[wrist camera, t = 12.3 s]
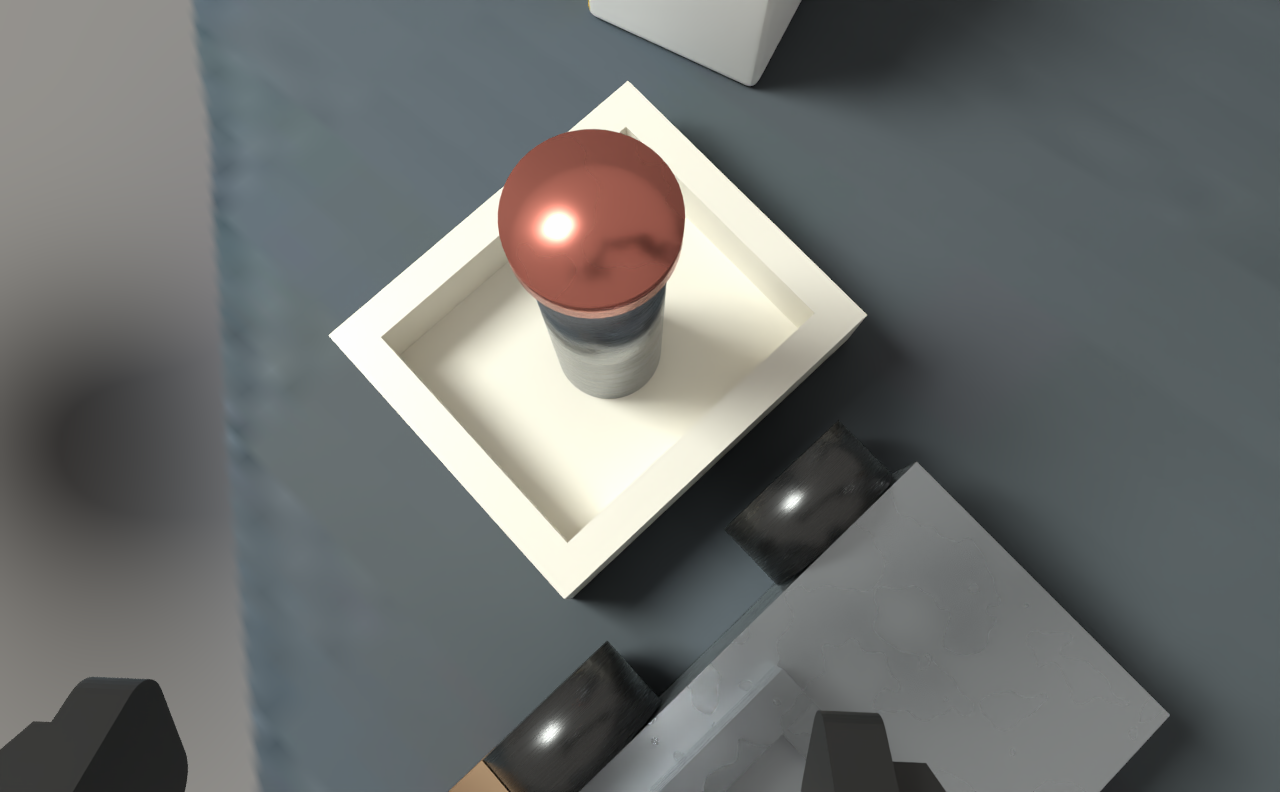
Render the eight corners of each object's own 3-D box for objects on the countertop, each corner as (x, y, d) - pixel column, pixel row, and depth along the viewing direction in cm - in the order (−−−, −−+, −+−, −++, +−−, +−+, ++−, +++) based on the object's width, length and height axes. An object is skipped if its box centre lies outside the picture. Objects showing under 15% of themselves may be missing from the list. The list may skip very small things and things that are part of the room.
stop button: (612, 266, 34) (597, 94, 22) (694, 351, 33) (724, 220, 21) (524, 345, 33) (459, 211, 21) (605, 432, 32) (584, 344, 21)
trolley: (832, 425, 33) (869, 391, 27) (1104, 699, 31) (1202, 722, 26) (486, 755, 31) (451, 790, 25) (754, 1072, 29) (780, 1184, 23)
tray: (629, 123, 35) (627, 80, 32) (847, 339, 34) (867, 315, 31) (356, 357, 34) (328, 335, 31) (571, 598, 32) (564, 598, 29)
